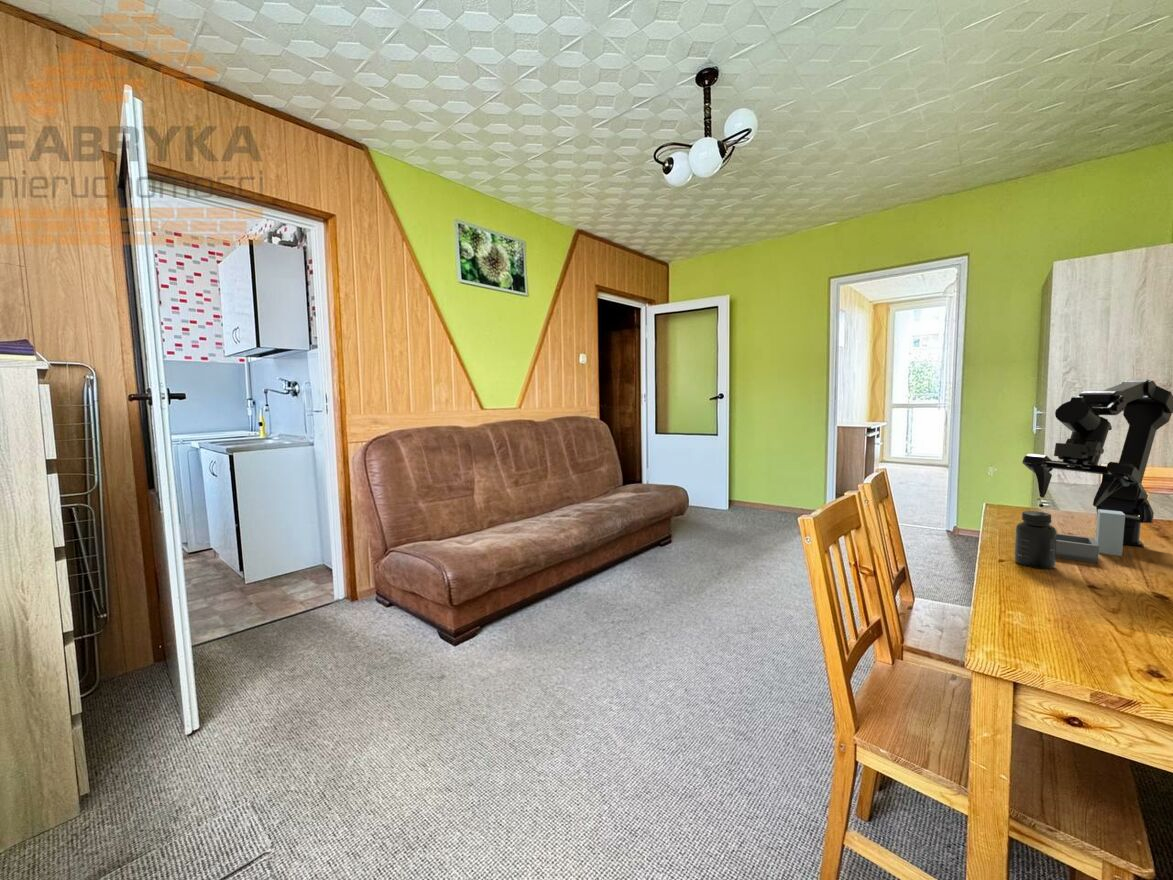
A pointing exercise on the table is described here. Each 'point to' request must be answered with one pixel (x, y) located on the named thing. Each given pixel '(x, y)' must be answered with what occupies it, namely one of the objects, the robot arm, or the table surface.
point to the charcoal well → (1077, 548)
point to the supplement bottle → (1035, 541)
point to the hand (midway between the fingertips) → (1067, 501)
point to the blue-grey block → (1110, 531)
